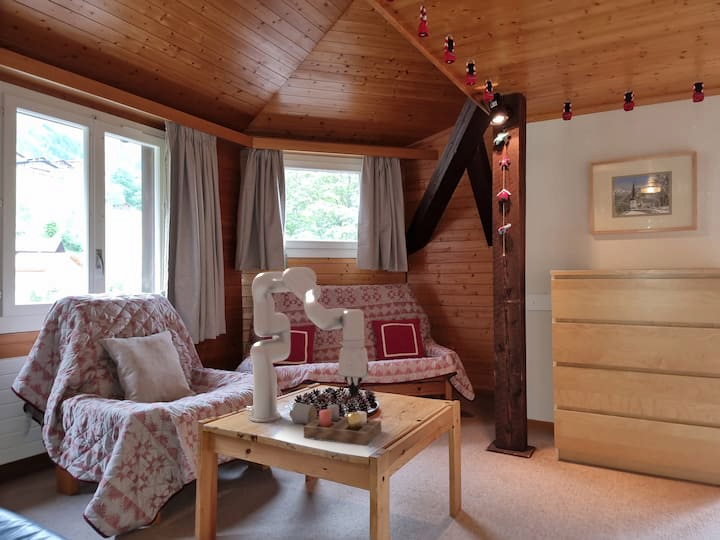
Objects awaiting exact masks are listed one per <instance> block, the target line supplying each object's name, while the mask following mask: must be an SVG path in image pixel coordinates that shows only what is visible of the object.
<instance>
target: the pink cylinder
mask: <svg viewBox="0 0 720 540" xmlns="http://www.w3.org/2000/svg"><path fill="white" fill-rule="evenodd" d="M318 412H319V414H318V417H319V426H320V427H330V426H332V411H331V410H328V409H327V408H326V409H320V410H318Z"/></svg>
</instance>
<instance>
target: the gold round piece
mask: <svg viewBox="0 0 720 540" xmlns="http://www.w3.org/2000/svg"><path fill="white" fill-rule="evenodd" d="M347 417H348V429H349V430H359V429H360V413H358V412H357V411H352V412H347Z"/></svg>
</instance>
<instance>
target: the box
mask: <svg viewBox="0 0 720 540" xmlns="http://www.w3.org/2000/svg"><path fill="white" fill-rule="evenodd" d="M381 432H382V420H377V419H367V424H366V425H360V429H359V430H349V429H348V416H339V421H336V422H332V426H330V427H320V426H319V416H317V419H315V420H313V421H312V422H310V423H309V424H305V425H304V426H303V438H304V439H310V438H314V439H313V440H319V439H321V441H329V442H336V443H345V444H354V445H360V446H361V445H363V446H369V444H370V443H371V442H372V441H373V440H374V439H375V438H376V437H377V436H378V435H379V434H380V433H381Z"/></svg>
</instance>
